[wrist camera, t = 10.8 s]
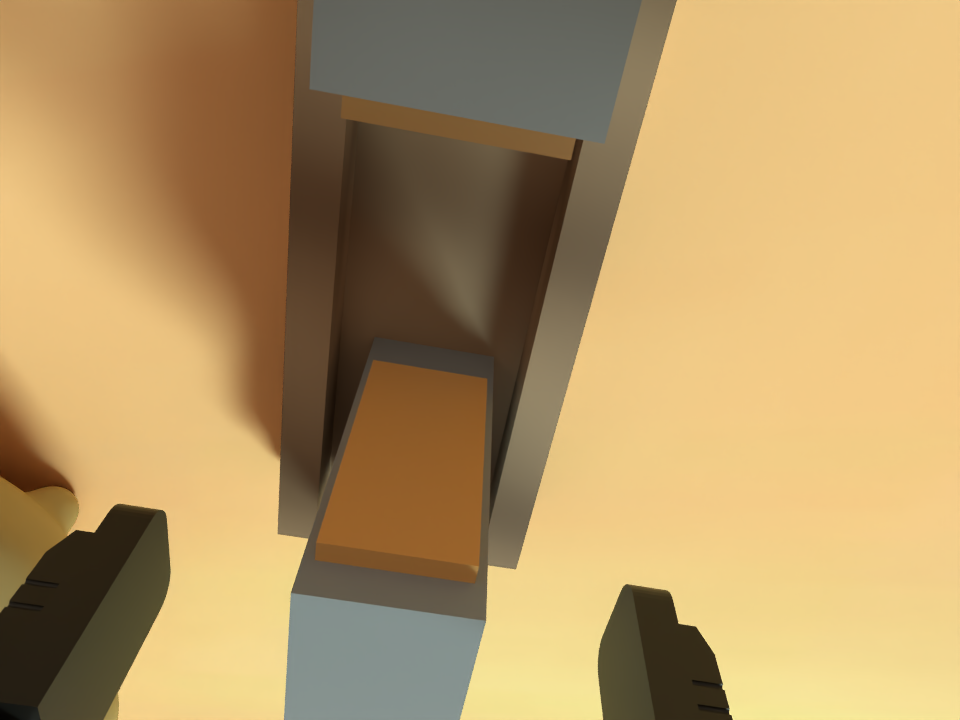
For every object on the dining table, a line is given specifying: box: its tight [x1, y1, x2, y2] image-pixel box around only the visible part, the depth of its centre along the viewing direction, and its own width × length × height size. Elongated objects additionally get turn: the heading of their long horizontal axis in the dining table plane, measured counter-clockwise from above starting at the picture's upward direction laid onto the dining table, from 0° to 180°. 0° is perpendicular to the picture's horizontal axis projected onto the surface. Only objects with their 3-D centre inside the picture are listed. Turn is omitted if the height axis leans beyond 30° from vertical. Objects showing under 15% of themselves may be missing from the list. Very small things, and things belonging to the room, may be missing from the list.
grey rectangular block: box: [284, 337, 494, 720], centre depth 16 cm, size 5×3×8 cm, turn 170°
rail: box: [278, 0, 677, 569], centre depth 13 cm, size 20×7×9 cm, turn 170°
